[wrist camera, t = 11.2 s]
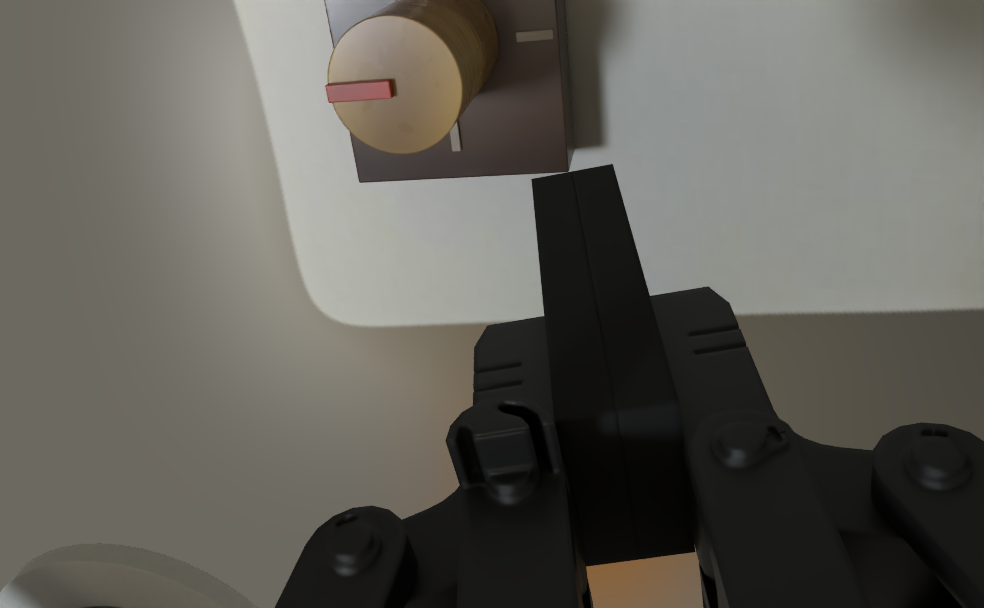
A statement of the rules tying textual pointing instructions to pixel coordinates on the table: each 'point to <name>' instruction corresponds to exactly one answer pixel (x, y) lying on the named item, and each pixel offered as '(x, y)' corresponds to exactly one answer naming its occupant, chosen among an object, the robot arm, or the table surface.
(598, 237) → the robot arm
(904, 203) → the table surface
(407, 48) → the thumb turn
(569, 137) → the plate
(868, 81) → the table surface
